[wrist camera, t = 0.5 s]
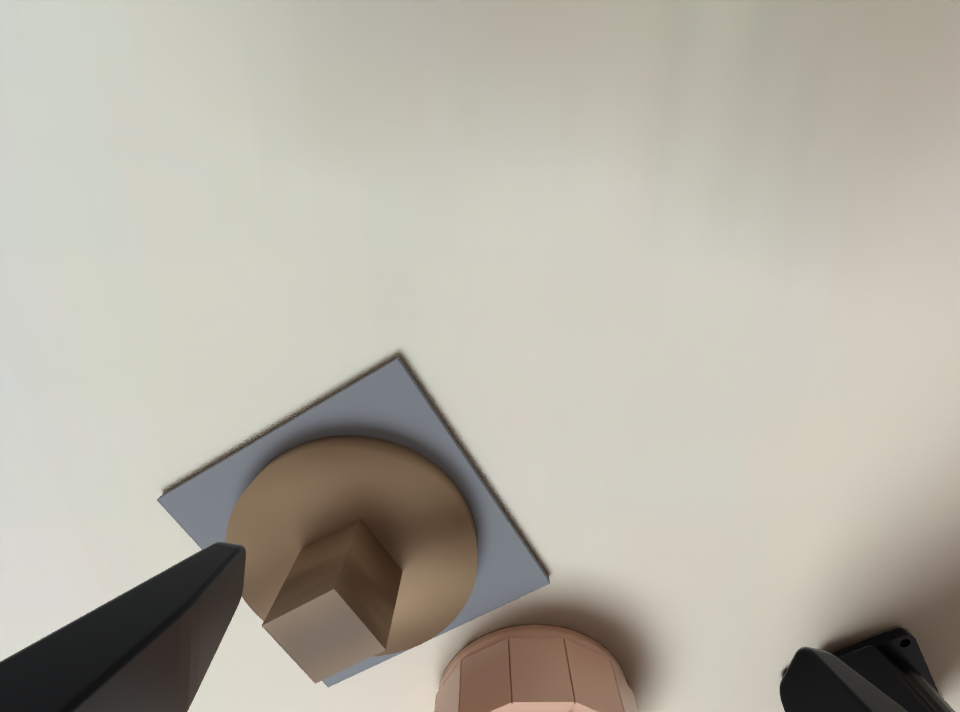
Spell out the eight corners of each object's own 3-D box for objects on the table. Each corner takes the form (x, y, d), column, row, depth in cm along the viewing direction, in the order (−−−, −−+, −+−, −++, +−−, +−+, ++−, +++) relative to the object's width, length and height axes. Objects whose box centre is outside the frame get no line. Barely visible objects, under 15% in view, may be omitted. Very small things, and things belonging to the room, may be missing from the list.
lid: (521, 576, 23) (531, 678, 18) (332, 666, 25) (295, 781, 20) (390, 390, 21) (360, 451, 16) (188, 507, 22) (104, 595, 17)
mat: (548, 577, 24) (550, 583, 23) (330, 680, 26) (328, 687, 26) (398, 356, 21) (397, 359, 20) (162, 494, 23) (156, 500, 22)
